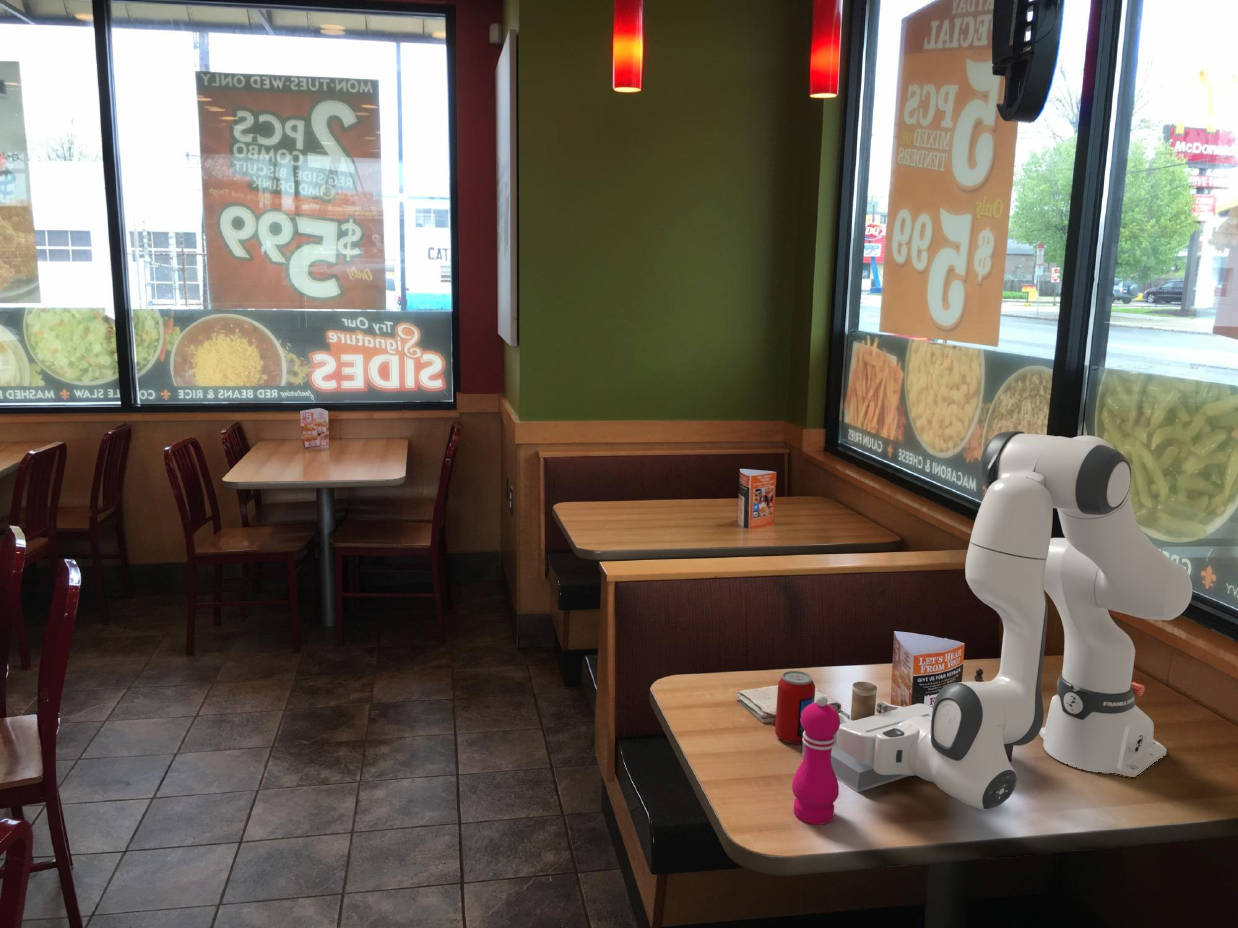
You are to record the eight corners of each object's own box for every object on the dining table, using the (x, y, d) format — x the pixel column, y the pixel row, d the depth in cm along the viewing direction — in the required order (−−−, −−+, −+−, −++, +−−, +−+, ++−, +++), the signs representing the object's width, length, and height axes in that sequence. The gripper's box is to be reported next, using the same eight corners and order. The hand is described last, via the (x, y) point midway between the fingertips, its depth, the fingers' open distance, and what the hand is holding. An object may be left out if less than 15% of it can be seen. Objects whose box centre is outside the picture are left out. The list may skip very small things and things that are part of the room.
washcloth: (732, 702, 192) (733, 688, 191) (807, 690, 199) (808, 676, 198) (763, 728, 181) (764, 712, 180) (842, 713, 188) (843, 699, 187)
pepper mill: (842, 826, 148) (852, 705, 144) (797, 826, 147) (805, 705, 143) (829, 801, 155) (837, 685, 151) (785, 801, 154) (793, 685, 150)
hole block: (860, 738, 177) (861, 721, 176) (918, 773, 165) (919, 754, 164) (801, 755, 170) (803, 736, 169) (857, 792, 158) (859, 772, 157)
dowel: (859, 753, 170) (865, 679, 167) (876, 763, 166) (882, 688, 164) (842, 758, 168) (847, 684, 165) (858, 769, 164) (864, 693, 162)
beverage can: (811, 748, 172) (816, 686, 170) (773, 743, 174) (777, 681, 171) (811, 731, 179) (816, 671, 177) (775, 727, 180) (779, 667, 178)
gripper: (966, 714, 159) (904, 683, 171) (875, 740, 149) (816, 705, 161) (962, 749, 160) (901, 716, 172) (872, 777, 150) (813, 740, 162)
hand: (859, 711), depth 166 cm, fingers open, 8 cm apart
